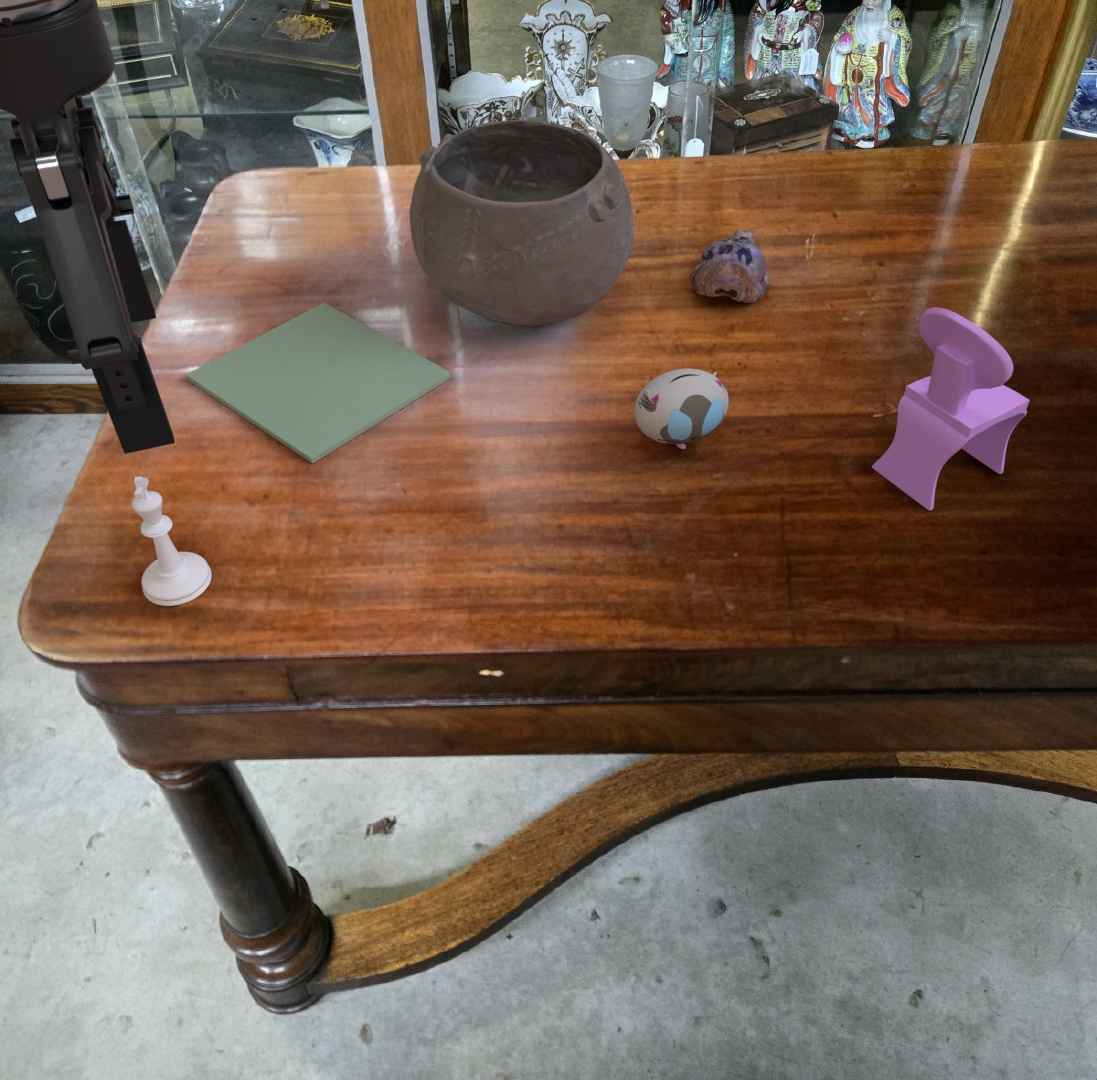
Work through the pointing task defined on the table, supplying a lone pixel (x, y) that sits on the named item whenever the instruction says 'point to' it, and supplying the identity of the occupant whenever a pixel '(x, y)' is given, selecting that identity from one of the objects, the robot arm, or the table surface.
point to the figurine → (681, 406)
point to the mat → (318, 380)
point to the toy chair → (952, 407)
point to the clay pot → (521, 220)
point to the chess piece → (167, 555)
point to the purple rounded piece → (732, 269)
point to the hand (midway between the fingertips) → (141, 377)
